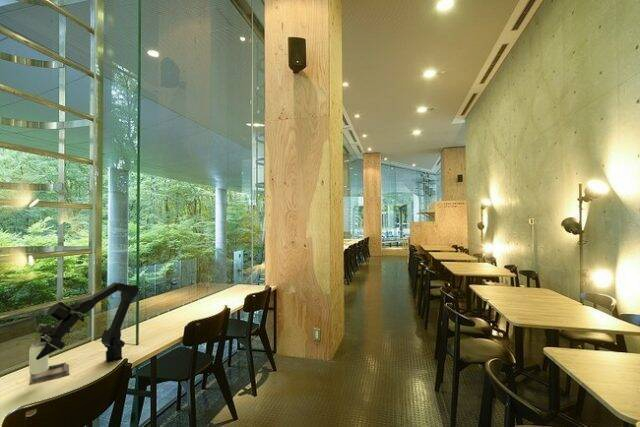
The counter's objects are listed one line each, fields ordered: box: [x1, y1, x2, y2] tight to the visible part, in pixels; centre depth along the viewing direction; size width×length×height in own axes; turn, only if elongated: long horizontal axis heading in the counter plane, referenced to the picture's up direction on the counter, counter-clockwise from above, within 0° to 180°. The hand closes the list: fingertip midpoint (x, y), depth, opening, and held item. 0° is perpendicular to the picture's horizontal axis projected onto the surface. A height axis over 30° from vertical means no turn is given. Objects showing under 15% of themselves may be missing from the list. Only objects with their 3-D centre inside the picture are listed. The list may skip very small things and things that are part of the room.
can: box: [28, 341, 50, 376], centre depth 143 cm, size 6×6×12 cm
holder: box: [29, 362, 70, 386], centre depth 154 cm, size 14×14×2 cm
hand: (34, 357), depth 142 cm, fingers closed on can, 6 cm apart
